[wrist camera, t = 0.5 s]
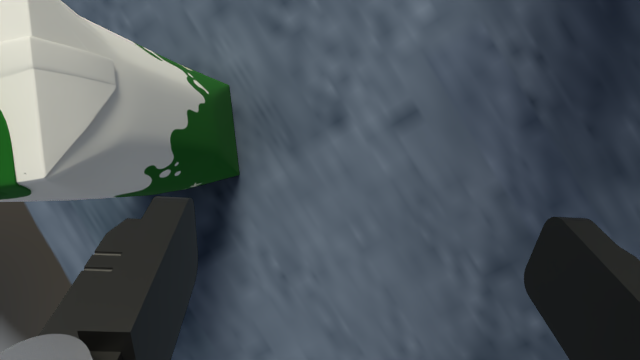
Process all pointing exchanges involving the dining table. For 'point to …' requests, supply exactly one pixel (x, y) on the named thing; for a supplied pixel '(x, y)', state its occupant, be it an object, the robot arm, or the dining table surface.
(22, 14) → the milk carton
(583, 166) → the dining table surface
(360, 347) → the dining table surface
